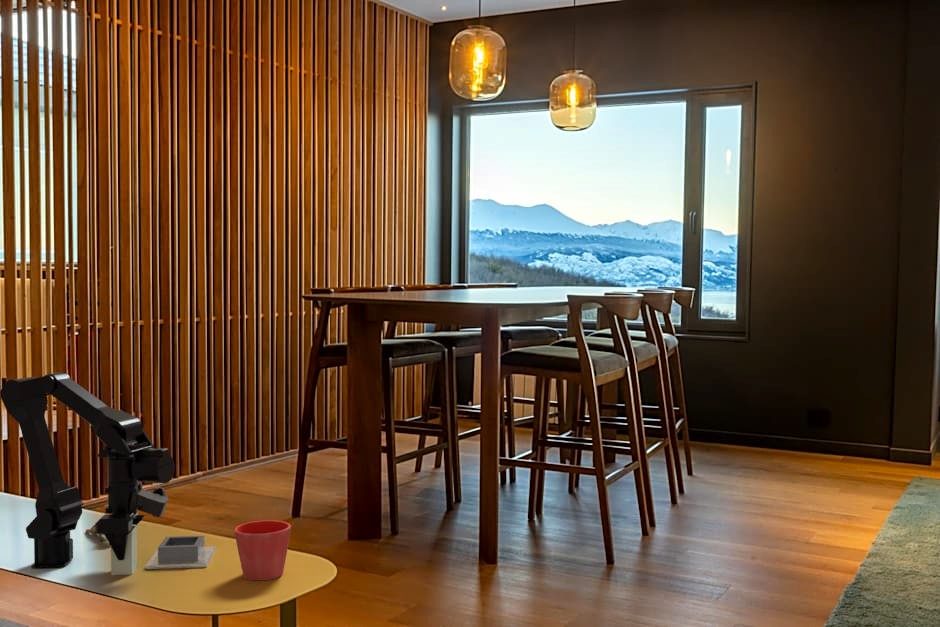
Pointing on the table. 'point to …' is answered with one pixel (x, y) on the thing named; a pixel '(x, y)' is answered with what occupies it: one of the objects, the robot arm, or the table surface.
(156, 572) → the table surface
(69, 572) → the table surface
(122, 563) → the rail post
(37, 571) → the table surface
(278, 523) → the flower pot
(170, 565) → the bracket
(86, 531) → the figurine
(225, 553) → the table surface
